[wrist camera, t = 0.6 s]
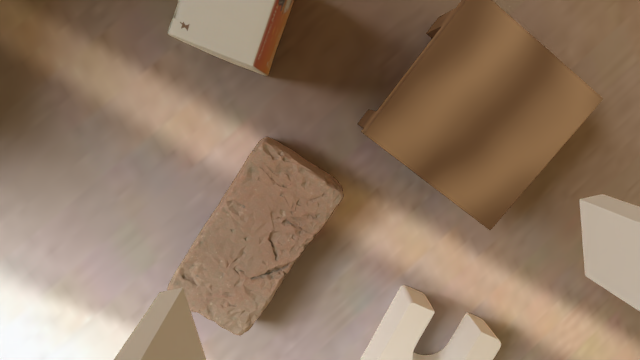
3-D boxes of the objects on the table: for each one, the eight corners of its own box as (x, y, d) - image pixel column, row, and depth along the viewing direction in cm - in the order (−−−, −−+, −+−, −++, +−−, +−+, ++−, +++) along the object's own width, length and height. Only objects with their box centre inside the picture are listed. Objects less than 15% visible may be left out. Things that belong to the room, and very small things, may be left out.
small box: (268, 77, 35) (253, 71, 25) (205, 52, 35) (164, 36, 24) (301, -16, 34) (300, -62, 24) (236, -43, 33) (206, -104, 23)
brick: (248, 318, 40) (241, 346, 36) (173, 275, 39) (156, 299, 34) (343, 180, 38) (348, 192, 33) (266, 130, 37) (261, 135, 32)
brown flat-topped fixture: (351, 124, 36) (364, 133, 29) (437, 10, 35) (476, -14, 27) (452, 202, 38) (490, 230, 30) (539, 97, 36) (603, 98, 29)
